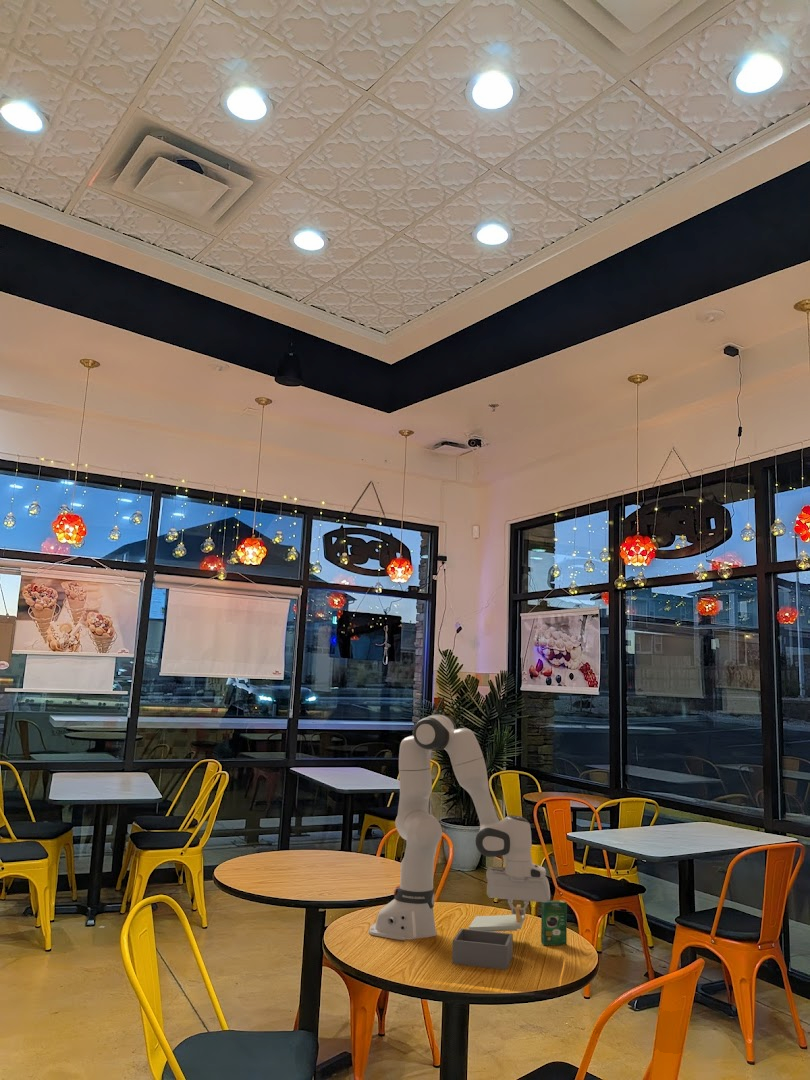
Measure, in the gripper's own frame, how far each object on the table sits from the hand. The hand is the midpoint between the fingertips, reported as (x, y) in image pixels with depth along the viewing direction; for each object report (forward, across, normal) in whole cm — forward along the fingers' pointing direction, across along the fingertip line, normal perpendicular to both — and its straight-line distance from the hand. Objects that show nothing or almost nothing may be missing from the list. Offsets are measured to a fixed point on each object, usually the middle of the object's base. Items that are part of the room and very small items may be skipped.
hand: (518, 914), depth 247 cm
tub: (+9, -8, -19) cm, 23 cm away
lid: (+3, -7, 0) cm, 8 cm away
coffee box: (+10, +11, +7) cm, 16 cm away
